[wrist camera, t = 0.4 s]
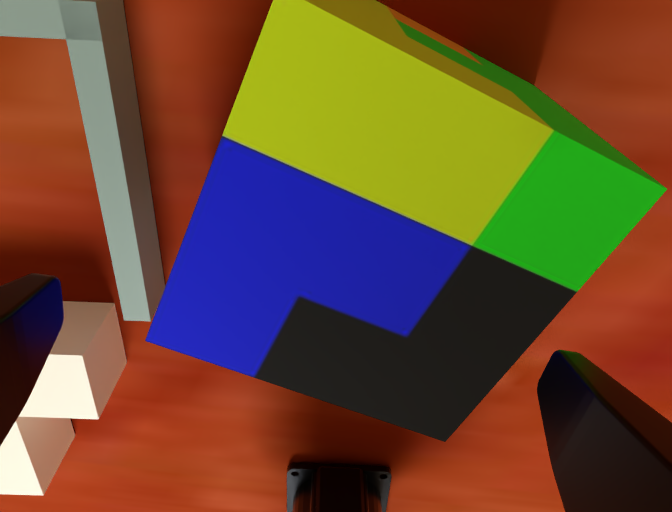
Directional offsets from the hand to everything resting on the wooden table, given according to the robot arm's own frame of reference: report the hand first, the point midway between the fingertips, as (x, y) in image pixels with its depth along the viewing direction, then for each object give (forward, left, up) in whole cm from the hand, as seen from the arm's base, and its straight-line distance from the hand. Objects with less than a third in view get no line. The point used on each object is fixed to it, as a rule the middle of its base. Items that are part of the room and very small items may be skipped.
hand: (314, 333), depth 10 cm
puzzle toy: (-1, -2, -14) cm, 15 cm away
